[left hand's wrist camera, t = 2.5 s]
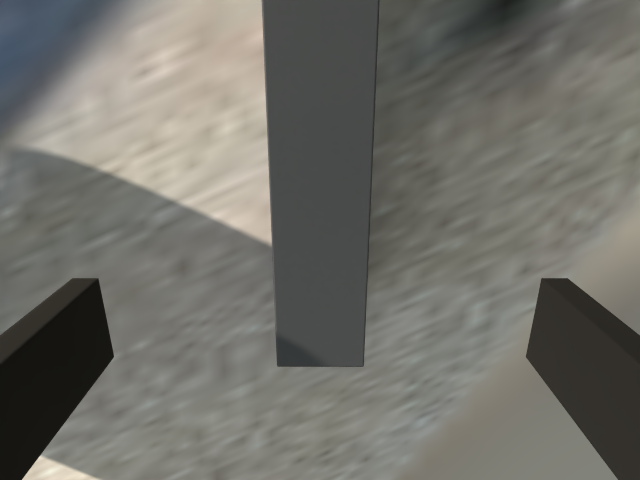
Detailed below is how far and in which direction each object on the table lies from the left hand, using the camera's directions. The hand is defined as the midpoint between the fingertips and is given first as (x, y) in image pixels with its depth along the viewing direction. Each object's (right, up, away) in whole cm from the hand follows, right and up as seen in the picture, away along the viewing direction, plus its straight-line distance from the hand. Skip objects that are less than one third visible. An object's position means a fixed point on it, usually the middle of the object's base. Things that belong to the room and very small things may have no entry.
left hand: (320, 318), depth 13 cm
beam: (0, +36, +3) cm, 36 cm away
